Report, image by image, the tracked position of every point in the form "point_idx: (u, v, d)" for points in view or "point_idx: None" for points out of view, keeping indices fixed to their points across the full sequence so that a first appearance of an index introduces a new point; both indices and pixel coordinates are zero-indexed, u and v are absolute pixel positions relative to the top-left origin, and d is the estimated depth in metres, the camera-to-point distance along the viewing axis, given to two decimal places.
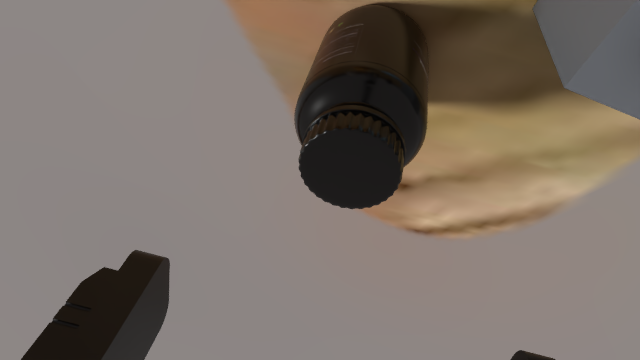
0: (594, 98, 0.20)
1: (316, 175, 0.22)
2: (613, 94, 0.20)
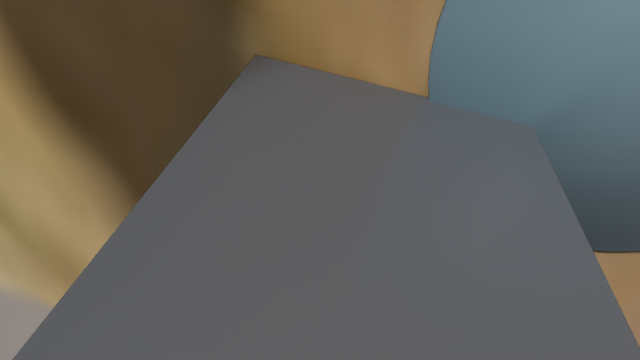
0: None
1: None
2: None
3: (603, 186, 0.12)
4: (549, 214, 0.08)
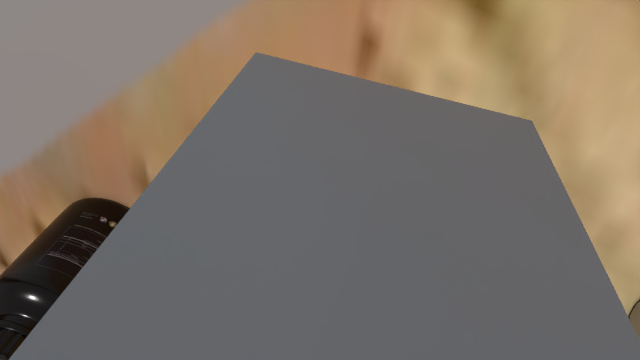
0: None
1: None
2: None
3: None
4: (550, 211, 0.08)
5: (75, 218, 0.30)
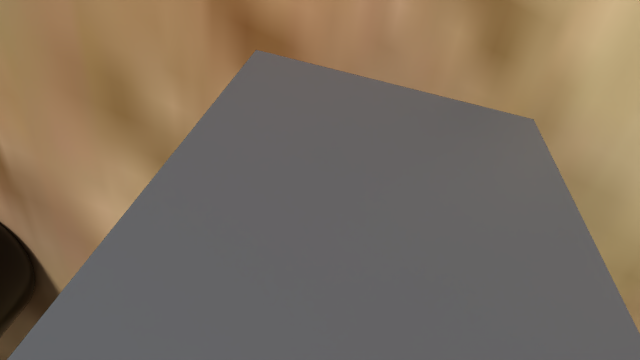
0: None
1: None
2: None
3: None
4: (552, 210, 0.08)
5: None
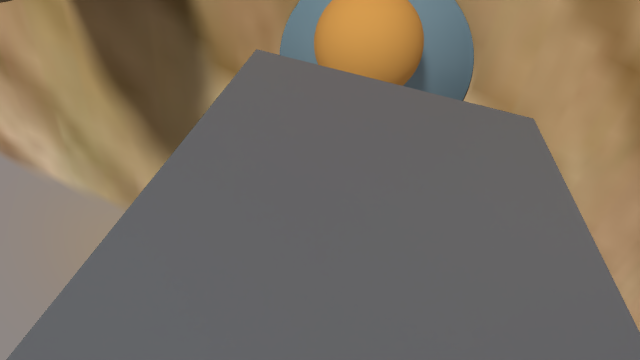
0: None
1: None
2: None
3: None
4: (553, 210, 0.08)
5: None
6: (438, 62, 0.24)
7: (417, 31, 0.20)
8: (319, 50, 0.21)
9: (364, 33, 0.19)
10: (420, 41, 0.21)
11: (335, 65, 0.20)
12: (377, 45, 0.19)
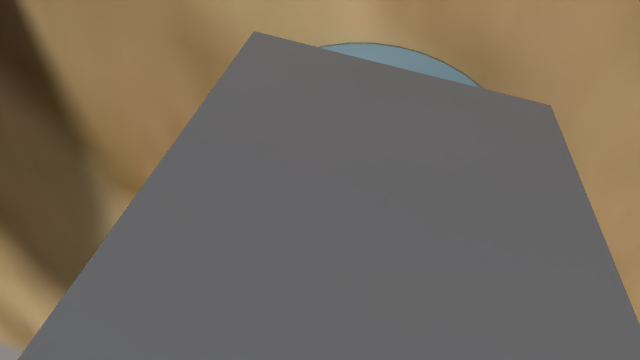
0: None
1: None
2: None
3: None
4: (567, 217, 0.08)
5: None
6: None
7: None
8: None
9: None
10: None
11: None
12: None
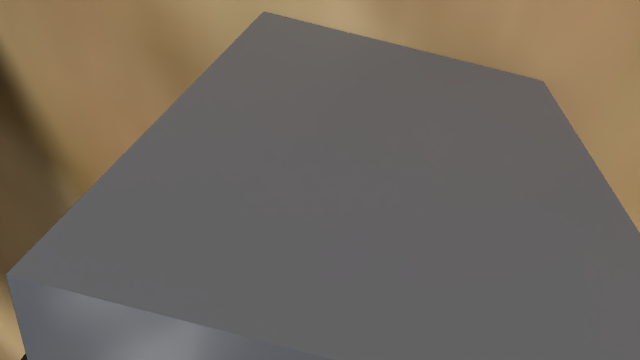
0: None
1: None
2: None
3: None
4: (566, 158, 0.08)
5: None
6: None
7: None
8: None
9: None
10: None
11: None
12: None
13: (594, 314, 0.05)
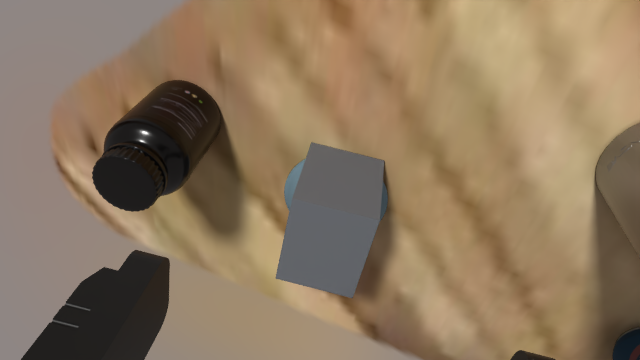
0: (290, 212, 0.37)
1: (110, 167, 0.33)
2: (294, 219, 0.37)
3: None
4: (376, 182, 0.40)
5: (166, 89, 0.39)
6: None
7: None
8: None
9: None
10: None
11: None
12: None
13: (364, 205, 0.37)
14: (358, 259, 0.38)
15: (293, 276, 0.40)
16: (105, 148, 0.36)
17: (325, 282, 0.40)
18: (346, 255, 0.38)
